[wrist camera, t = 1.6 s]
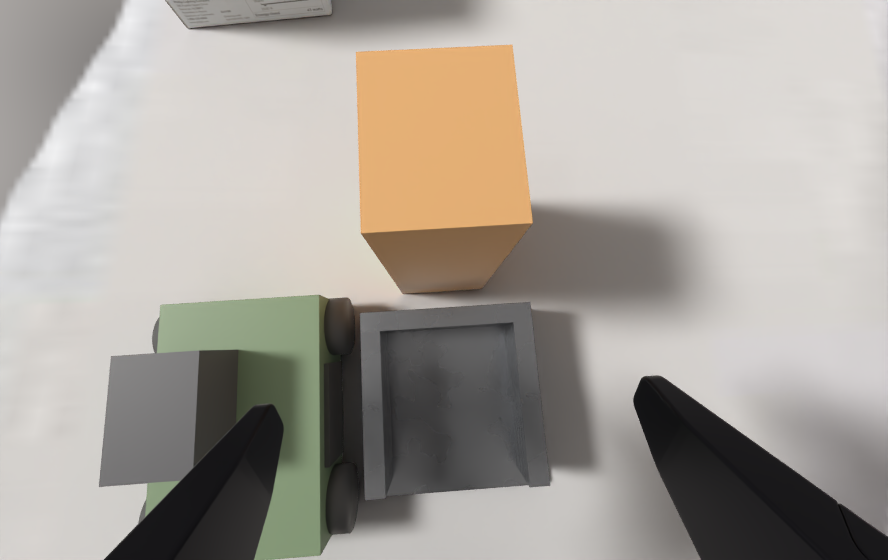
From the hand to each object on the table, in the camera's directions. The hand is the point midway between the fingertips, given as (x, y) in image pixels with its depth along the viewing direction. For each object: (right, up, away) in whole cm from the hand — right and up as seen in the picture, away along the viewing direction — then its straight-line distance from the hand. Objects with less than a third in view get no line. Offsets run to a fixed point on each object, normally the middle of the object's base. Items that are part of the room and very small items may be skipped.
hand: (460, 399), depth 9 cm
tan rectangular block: (-1, +5, +14) cm, 15 cm away
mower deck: (-10, -5, +12) cm, 17 cm away
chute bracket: (0, -4, +13) cm, 13 cm away
